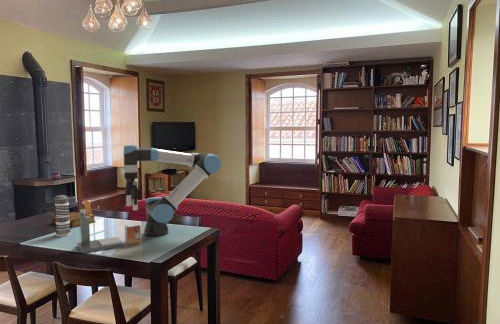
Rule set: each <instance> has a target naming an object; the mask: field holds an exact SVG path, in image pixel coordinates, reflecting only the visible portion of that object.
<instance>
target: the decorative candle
mask: <svg viewBox="0 0 500 324" xmlns="http://www.w3.org/2000/svg"><path fill="white" fill-rule="evenodd" d="M69 198H70V197H69V196H67V195H65V194H60V195H56V196H55V197H54V205H53V208H54V209H53V212H54V216H55V218H56V224H54V225H55V236H57V237H66V236H71V227H70V220H69V216H70V214H69V213H71V211H70V207H71V206H70V205H69V203H70V202H69Z"/></svg>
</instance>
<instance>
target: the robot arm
mask: <svg viewBox="0 0 500 324" xmlns="http://www.w3.org/2000/svg"><path fill="white" fill-rule="evenodd" d="M122 153H123V167H122V168H123V171H124V176H123V177H124V180H125V189H124V190H125V191H124V193H125V196H126V197H125V198H126V199H125V201H126V203H125V204H126V207H132V211H138V210H139V204H138V203H139V202H138V201H139V200H138V199H139V197H140V196H139V190H138V184H137V183H138V181H137V179H138V178H139V167H138V166H139V165H138V162H153V161H154V162H161V163H167V164H176V165H184V166H185V165H186V166H188V167H189V168H194V169H193V170H192V171H191V172H190V173H189V174H187V176H186V177H184V179H182V181H181V182H180V183H179V184H178V185H176V186H175V188H174V189H173V190H172V191H170V192H169V193H168V195H163V196H157V197H147V198H145V199H146V201H145V207H146V209H145V211H146V223H145V226H144V230H143V232H144V235H145V236H147V237H160V236H165V235H167V234H169V227H168V224H167V223H168V222H170V221H171V220H172V219H173V217H174V213H176V212H177V211H178V206H179V205H180V203H182V202H183V201H184V200H185V199H186V198H187V196H189V195H190V193H192V191H194V189H196V187H197V186H198V185H199V184H200V183H201V182H202V181H203V180H204V179H208V178H210V177H211V175H212V174H215V173H217V172H219V170H220V169H221V168H222V161H221V158H220V157H219V156H218V155H216V154H213V153H209V152H208V153H207V152H191V153H186V152H179V151H175V150H174V151H173V150H166V149H160V148H159V149H158V148H157V147H156V148H155V147H145V146H141V147H138V145H136V144H135V145H134V144H127V145H124V146H123V152H122Z"/></svg>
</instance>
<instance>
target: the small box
mask: <svg viewBox="0 0 500 324" xmlns="http://www.w3.org/2000/svg"><path fill="white" fill-rule="evenodd" d="M141 232H142V231H141V225H140V223H133V224H125V225H124V240H125V243H126V245H132V244H140V243H142V238H141V237H142V234H141Z"/></svg>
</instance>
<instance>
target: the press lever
mask: <svg viewBox="0 0 500 324" xmlns="http://www.w3.org/2000/svg"><path fill="white" fill-rule="evenodd" d="M91 201H92V200H90V199H88V200H87V199H86V200H84V208H82V209H80V210H79V212H80V214H83V215H84V216H85V217H86V218H90V216H91V214H92V202H91Z"/></svg>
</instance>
